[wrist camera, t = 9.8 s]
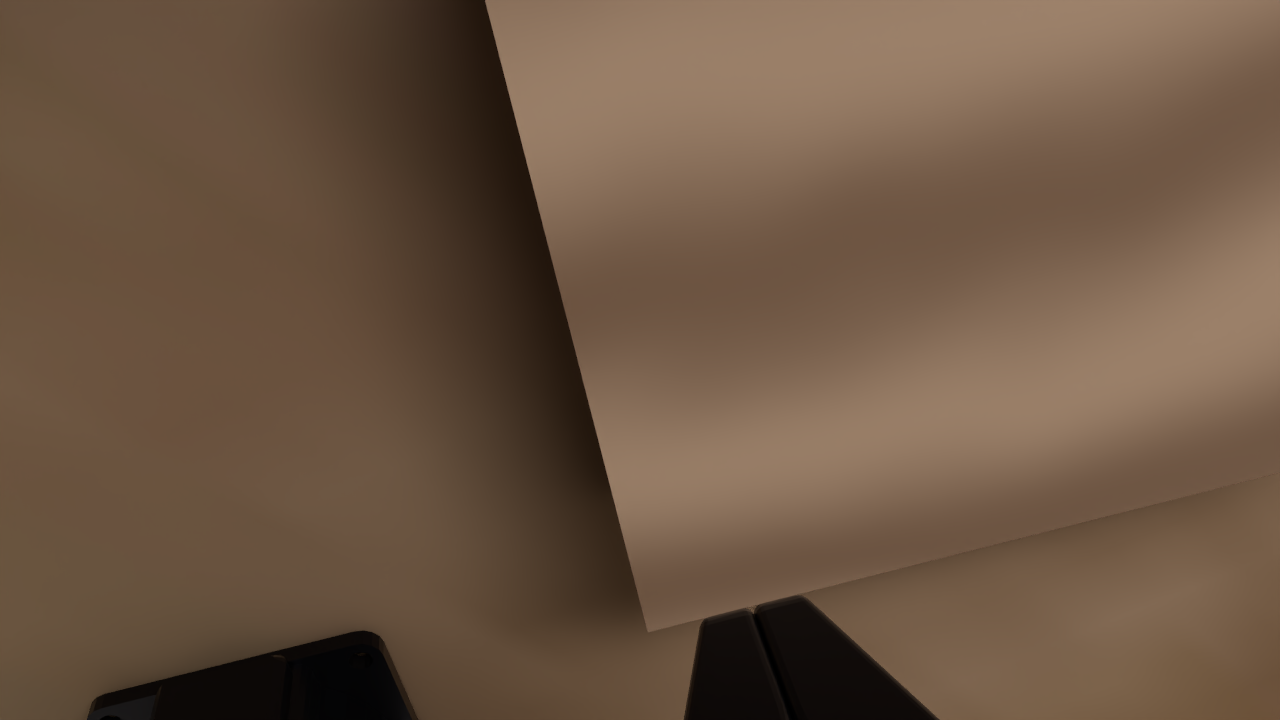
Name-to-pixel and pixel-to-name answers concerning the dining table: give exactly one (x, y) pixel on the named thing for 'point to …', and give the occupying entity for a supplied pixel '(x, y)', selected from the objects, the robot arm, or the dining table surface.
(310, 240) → the dining table surface
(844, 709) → the robot arm
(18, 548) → the dining table surface
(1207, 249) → the board
